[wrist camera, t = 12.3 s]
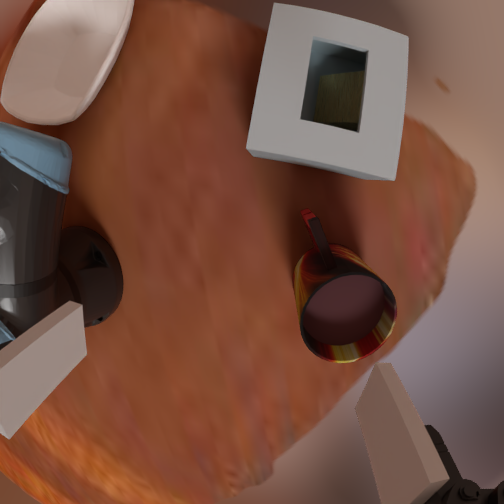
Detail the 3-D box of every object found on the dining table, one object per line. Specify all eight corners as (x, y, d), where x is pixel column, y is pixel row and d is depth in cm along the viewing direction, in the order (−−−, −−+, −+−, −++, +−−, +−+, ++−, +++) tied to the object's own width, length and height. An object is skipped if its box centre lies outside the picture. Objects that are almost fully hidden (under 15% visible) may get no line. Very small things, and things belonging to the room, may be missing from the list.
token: (312, 122, 32) (367, 123, 26) (320, 75, 30) (373, 70, 24) (329, 129, 33) (382, 131, 28) (336, 84, 32) (388, 81, 26)
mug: (303, 204, 36) (318, 217, 25) (378, 275, 38) (414, 313, 26) (252, 262, 39) (243, 298, 27) (328, 326, 40) (345, 377, 28)
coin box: (253, 156, 35) (246, 148, 26) (274, 41, 31) (273, 2, 22) (364, 179, 35) (394, 180, 25) (379, 65, 31) (408, 36, 21)
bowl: (113, 143, 36) (78, 138, 28) (25, 117, 35) (-10, 112, 27) (173, 14, 31) (152, -16, 23) (73, 9, 30) (46, -10, 22)
